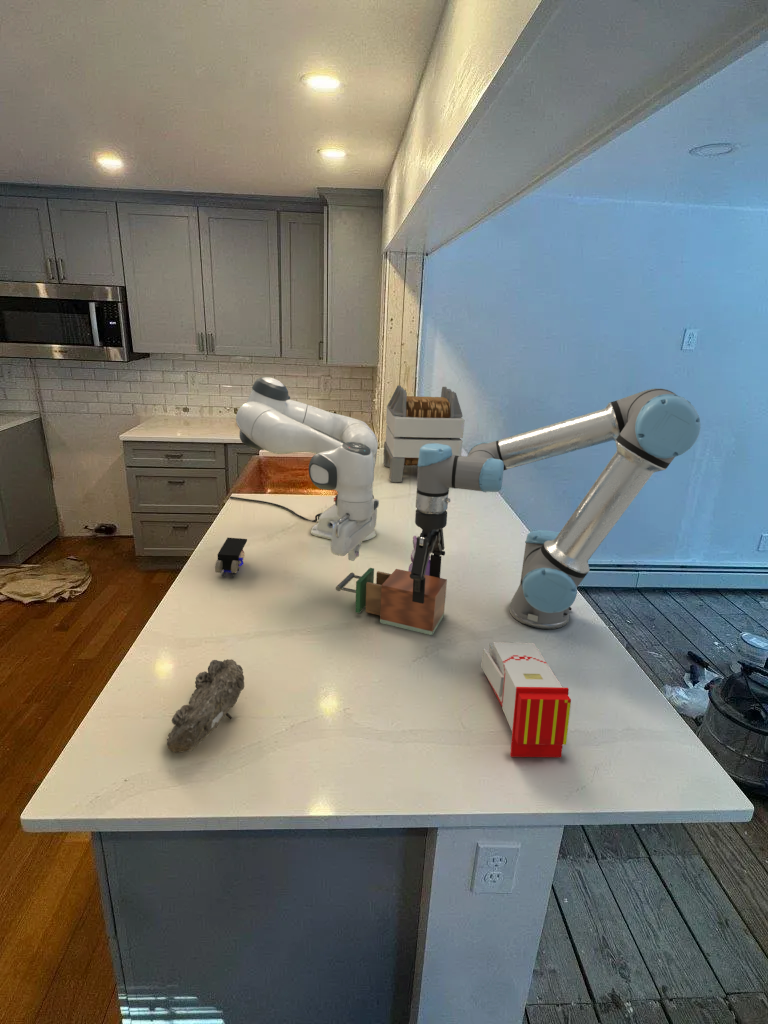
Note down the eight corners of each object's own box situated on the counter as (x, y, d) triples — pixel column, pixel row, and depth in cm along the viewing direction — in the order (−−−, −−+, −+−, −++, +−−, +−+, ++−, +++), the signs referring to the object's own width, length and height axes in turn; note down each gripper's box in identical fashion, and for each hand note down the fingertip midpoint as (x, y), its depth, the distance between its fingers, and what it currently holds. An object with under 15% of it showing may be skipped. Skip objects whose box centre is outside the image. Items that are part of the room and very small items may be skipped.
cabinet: (379, 622, 143) (381, 585, 139) (394, 604, 152) (396, 568, 149) (432, 635, 138) (435, 596, 135) (443, 615, 148) (447, 579, 144)
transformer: (382, 463, 289) (386, 382, 275) (445, 464, 293) (451, 384, 279) (390, 482, 257) (394, 392, 243) (460, 483, 261) (468, 394, 247)
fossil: (192, 660, 117) (244, 628, 112) (224, 691, 120) (276, 661, 115) (142, 746, 98) (202, 712, 93) (182, 779, 101) (242, 748, 96)
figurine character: (238, 584, 162) (249, 557, 175) (236, 562, 158) (247, 536, 172) (215, 584, 161) (227, 556, 175) (212, 561, 158) (225, 535, 171)
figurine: (415, 595, 157) (419, 545, 152) (397, 579, 166) (400, 532, 161) (444, 589, 161) (448, 540, 156) (425, 574, 170) (428, 527, 165)
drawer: (335, 607, 148) (335, 577, 145) (349, 592, 156) (350, 563, 153) (401, 623, 141) (403, 591, 138) (413, 607, 149) (415, 576, 146)
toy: (531, 625, 126) (580, 695, 97) (526, 680, 129) (572, 765, 100) (477, 624, 126) (510, 694, 96) (473, 679, 129) (504, 764, 99)
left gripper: (348, 523, 131) (347, 577, 136) (381, 498, 149) (379, 547, 154) (324, 518, 133) (324, 572, 138) (359, 495, 152) (358, 542, 156)
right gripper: (431, 529, 122) (426, 616, 129) (460, 497, 144) (454, 572, 151) (398, 524, 124) (395, 609, 131) (431, 492, 146) (427, 567, 153)
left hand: (353, 558), depth 146 cm, fingers closed
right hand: (426, 590), depth 141 cm, fingers open, 13 cm apart
